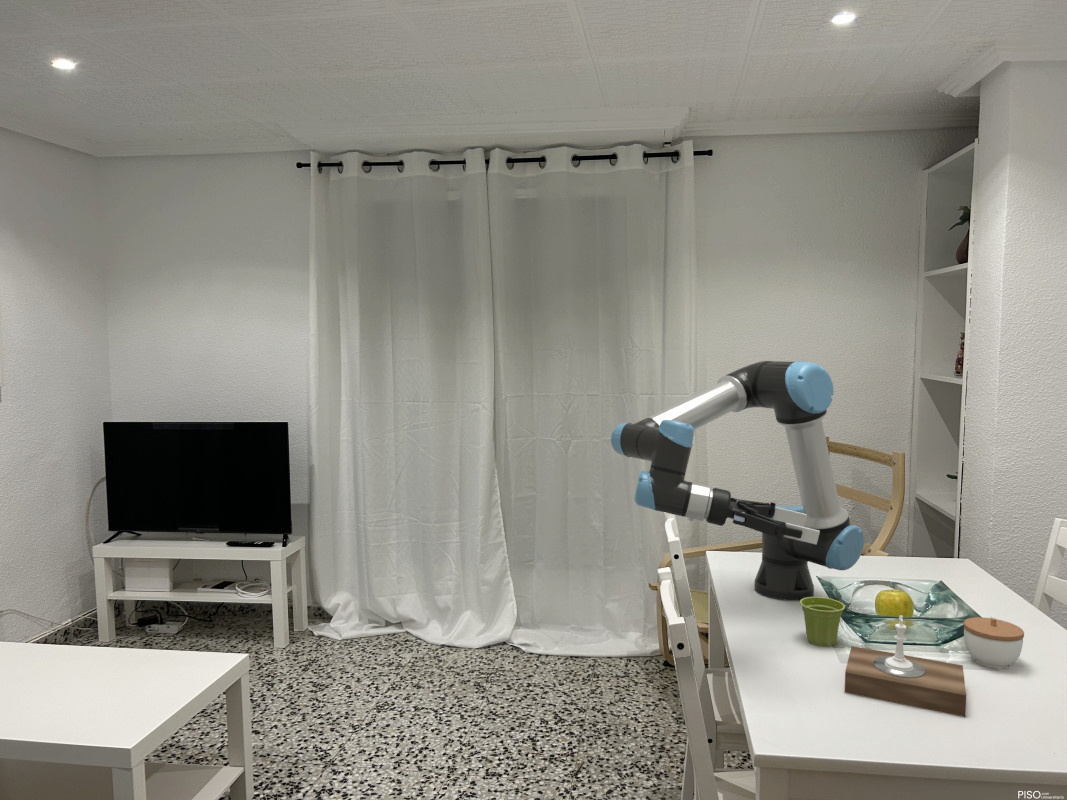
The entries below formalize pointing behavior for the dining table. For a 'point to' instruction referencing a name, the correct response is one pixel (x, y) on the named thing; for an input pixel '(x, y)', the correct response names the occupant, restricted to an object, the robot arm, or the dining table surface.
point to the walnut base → (907, 681)
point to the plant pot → (822, 619)
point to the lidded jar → (993, 641)
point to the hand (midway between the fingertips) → (811, 528)
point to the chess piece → (899, 651)
